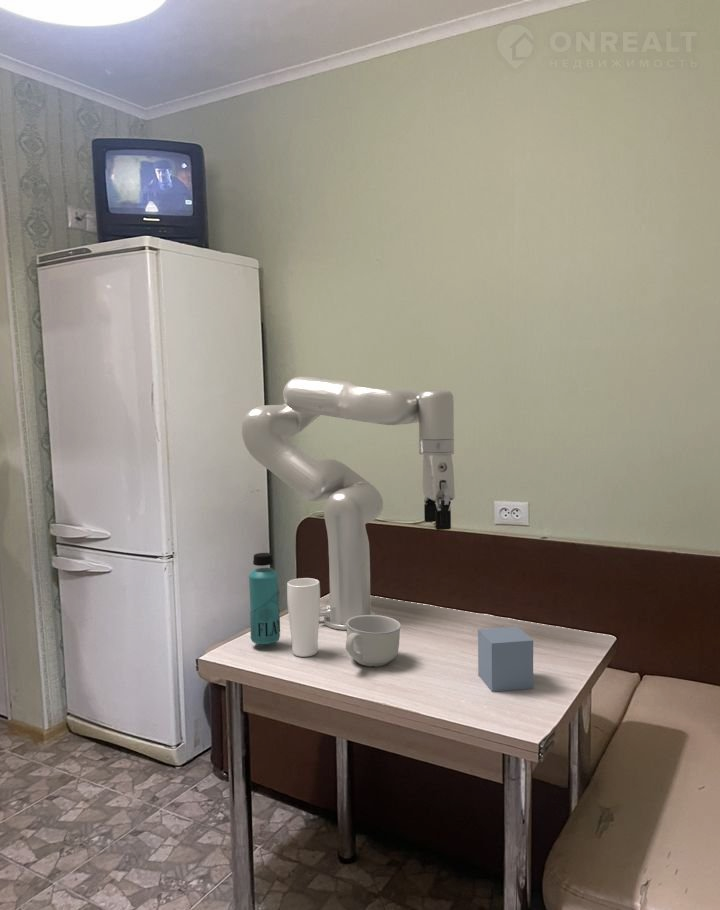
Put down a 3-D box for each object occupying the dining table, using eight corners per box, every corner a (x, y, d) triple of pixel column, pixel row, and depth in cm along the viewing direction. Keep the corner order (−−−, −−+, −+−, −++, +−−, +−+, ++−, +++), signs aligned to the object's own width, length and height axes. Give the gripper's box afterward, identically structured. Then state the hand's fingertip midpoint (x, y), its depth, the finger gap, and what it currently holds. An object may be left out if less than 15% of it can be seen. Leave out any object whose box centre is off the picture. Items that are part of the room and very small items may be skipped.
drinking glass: (323, 647, 148) (322, 577, 147) (318, 659, 141) (316, 586, 140) (292, 647, 148) (290, 577, 147) (285, 658, 142) (283, 586, 141)
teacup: (373, 647, 147) (372, 610, 147) (412, 660, 140) (411, 621, 139) (324, 666, 138) (323, 626, 137) (362, 681, 130) (362, 639, 129)
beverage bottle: (254, 653, 145) (251, 558, 144) (246, 643, 151) (243, 552, 150) (284, 648, 148) (282, 555, 146) (275, 638, 154) (273, 549, 152)
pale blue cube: (491, 691, 124) (491, 643, 123) (478, 674, 132) (478, 629, 131) (533, 688, 125) (533, 640, 124) (517, 671, 133) (517, 626, 132)
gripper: (465, 449, 144) (465, 531, 145) (442, 444, 161) (443, 518, 162) (429, 450, 143) (430, 533, 144) (410, 445, 160) (411, 519, 161)
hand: (437, 525), depth 153 cm, fingers open, 9 cm apart
